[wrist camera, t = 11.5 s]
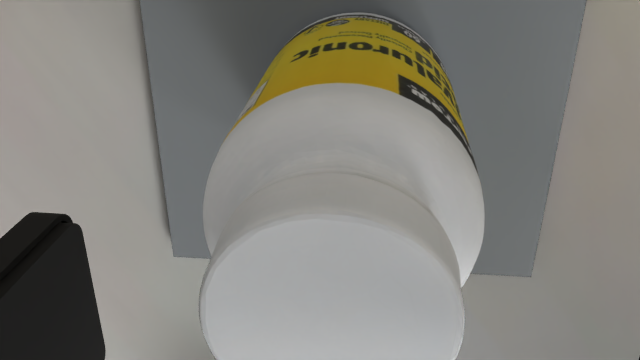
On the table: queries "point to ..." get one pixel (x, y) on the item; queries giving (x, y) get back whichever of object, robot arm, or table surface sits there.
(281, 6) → the slate coaster
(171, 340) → the table surface
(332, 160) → the supplement bottle
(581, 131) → the table surface
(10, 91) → the table surface
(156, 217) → the table surface
